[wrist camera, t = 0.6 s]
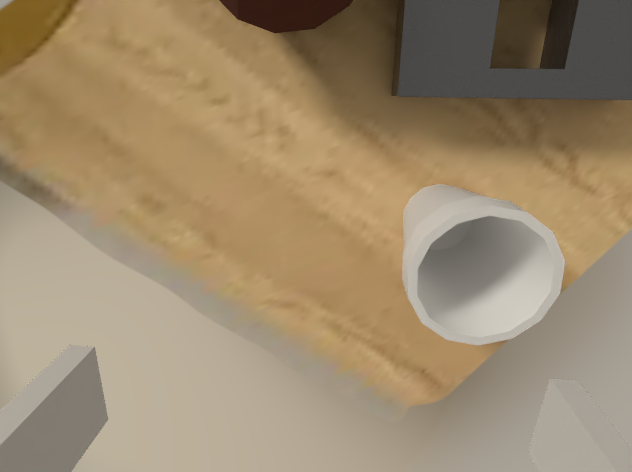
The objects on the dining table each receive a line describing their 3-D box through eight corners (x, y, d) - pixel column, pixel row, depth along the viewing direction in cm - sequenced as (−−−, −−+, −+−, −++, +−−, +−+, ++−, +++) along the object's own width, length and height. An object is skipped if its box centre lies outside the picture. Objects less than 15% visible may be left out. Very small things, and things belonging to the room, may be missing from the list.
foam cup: (482, 154, 35) (557, 188, 23) (497, 250, 38) (571, 326, 26) (375, 183, 36) (391, 230, 24) (397, 273, 39) (422, 356, 27)
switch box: (391, 95, 34) (398, 96, 30) (403, -61, 30) (412, -84, 26) (615, 99, 33) (652, 100, 29) (655, -63, 29) (704, -87, 25)
